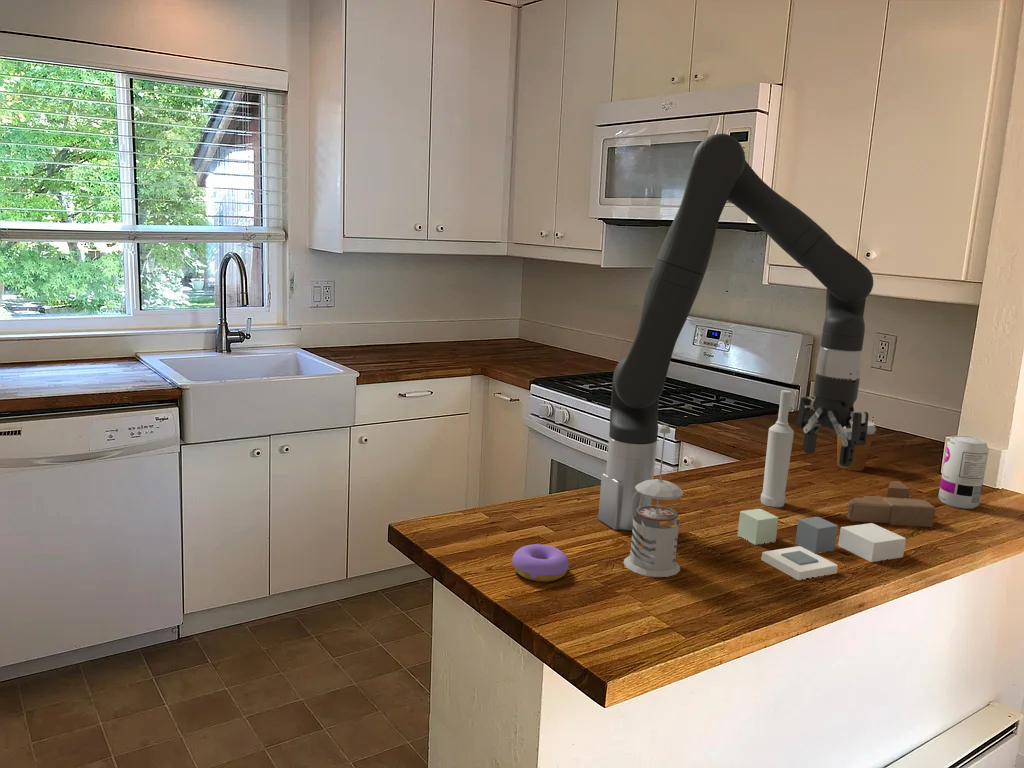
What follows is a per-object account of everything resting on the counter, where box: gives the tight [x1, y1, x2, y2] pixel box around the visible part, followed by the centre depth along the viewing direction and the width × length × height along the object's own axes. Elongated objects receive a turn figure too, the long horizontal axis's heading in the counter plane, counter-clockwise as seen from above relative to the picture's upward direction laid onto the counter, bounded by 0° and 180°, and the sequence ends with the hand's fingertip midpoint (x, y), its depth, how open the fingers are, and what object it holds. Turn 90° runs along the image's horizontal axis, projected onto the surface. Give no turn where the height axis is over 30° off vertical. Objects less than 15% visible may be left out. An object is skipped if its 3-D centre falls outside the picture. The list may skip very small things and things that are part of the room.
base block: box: [837, 522, 907, 563], centre depth 156 cm, size 8×8×4 cm
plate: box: [761, 545, 839, 581], centre depth 147 cm, size 9×9×2 cm
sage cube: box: [737, 508, 779, 546], centre depth 159 cm, size 5×5×5 cm
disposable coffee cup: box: [836, 420, 877, 472], centre depth 211 cm, size 10×10×12 cm
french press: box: [623, 424, 684, 578], centre depth 142 cm, size 10×12×25 cm
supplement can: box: [937, 435, 990, 510], centre depth 186 cm, size 8×8×15 cm
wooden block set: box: [846, 480, 936, 528], centre depth 179 cm, size 17×6×18 cm
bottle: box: [760, 389, 795, 508], centre depth 178 cm, size 5×5×25 cm
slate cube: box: [794, 516, 839, 554], centre depth 156 cm, size 5×5×5 cm
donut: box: [511, 543, 570, 583], centre depth 138 cm, size 10×9×5 cm
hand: (826, 459), depth 153 cm, fingers open, 8 cm apart
